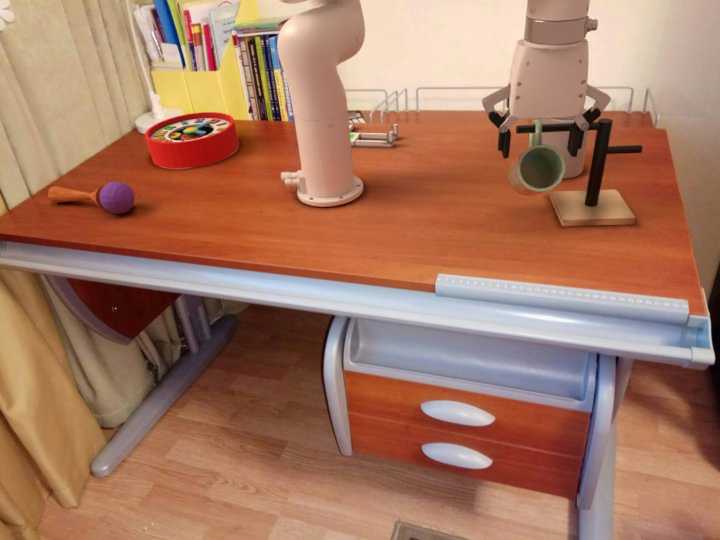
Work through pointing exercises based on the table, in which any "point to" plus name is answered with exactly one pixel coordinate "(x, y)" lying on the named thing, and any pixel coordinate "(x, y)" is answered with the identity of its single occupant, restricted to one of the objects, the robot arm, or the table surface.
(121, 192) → the purple maraca
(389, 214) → the table surface
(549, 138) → the mug
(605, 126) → the mug holder
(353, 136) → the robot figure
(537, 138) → the small mug
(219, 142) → the toy clock
